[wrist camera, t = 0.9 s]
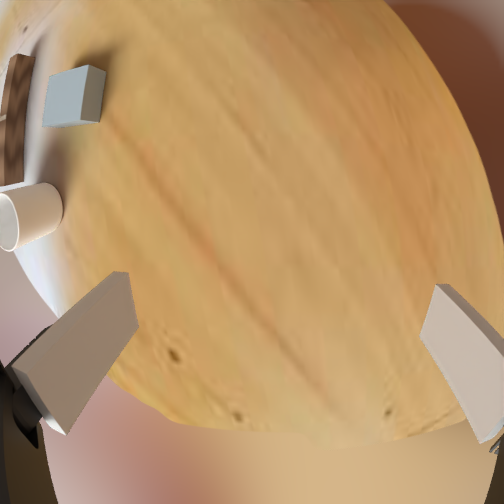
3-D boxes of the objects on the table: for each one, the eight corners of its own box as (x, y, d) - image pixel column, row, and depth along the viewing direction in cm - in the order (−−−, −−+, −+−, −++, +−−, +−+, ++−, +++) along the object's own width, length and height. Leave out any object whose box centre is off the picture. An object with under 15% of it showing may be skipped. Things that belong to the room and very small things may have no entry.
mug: (22, 220, 38) (-18, 236, 28) (46, 171, 35) (-1, 180, 25) (45, 253, 40) (5, 276, 30) (72, 206, 37) (25, 222, 26)
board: (27, 61, 28) (9, 57, 23) (35, 57, 28) (17, 53, 23) (16, 182, 36) (-3, 187, 31) (23, 181, 36) (3, 186, 31)
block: (68, 81, 30) (49, 76, 25) (107, 72, 30) (88, 64, 25) (62, 127, 33) (42, 126, 28) (100, 122, 32) (80, 119, 28)
